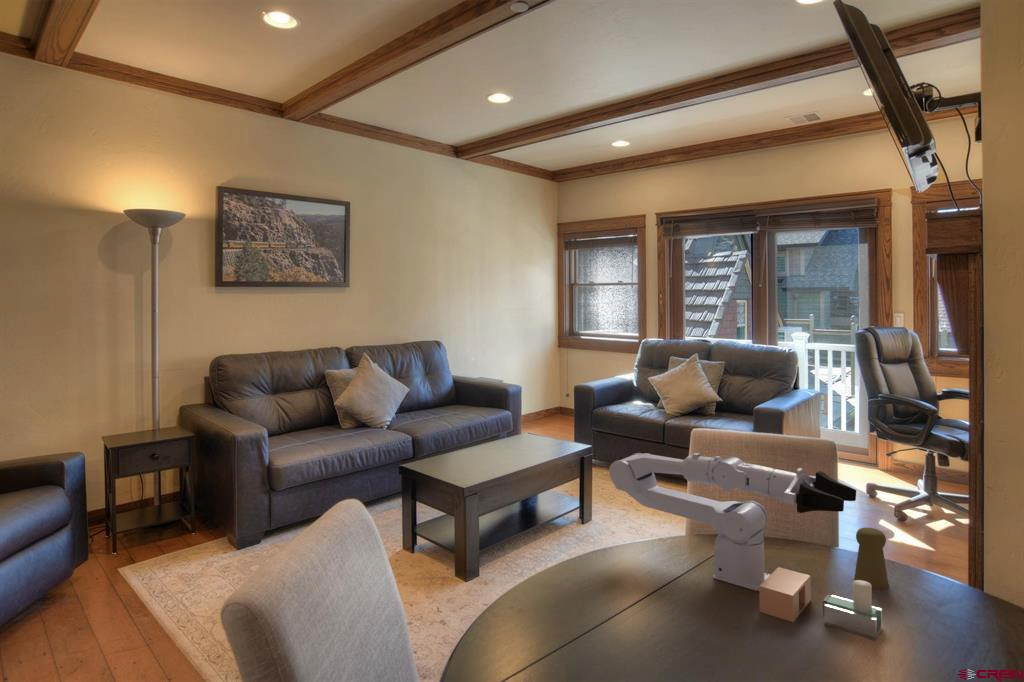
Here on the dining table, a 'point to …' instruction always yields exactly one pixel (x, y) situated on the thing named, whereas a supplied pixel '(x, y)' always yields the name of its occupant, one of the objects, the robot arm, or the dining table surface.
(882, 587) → the cork
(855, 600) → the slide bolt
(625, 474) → the robot arm
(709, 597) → the dining table surface
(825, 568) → the dining table surface
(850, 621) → the grey u-channel
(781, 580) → the socket block
